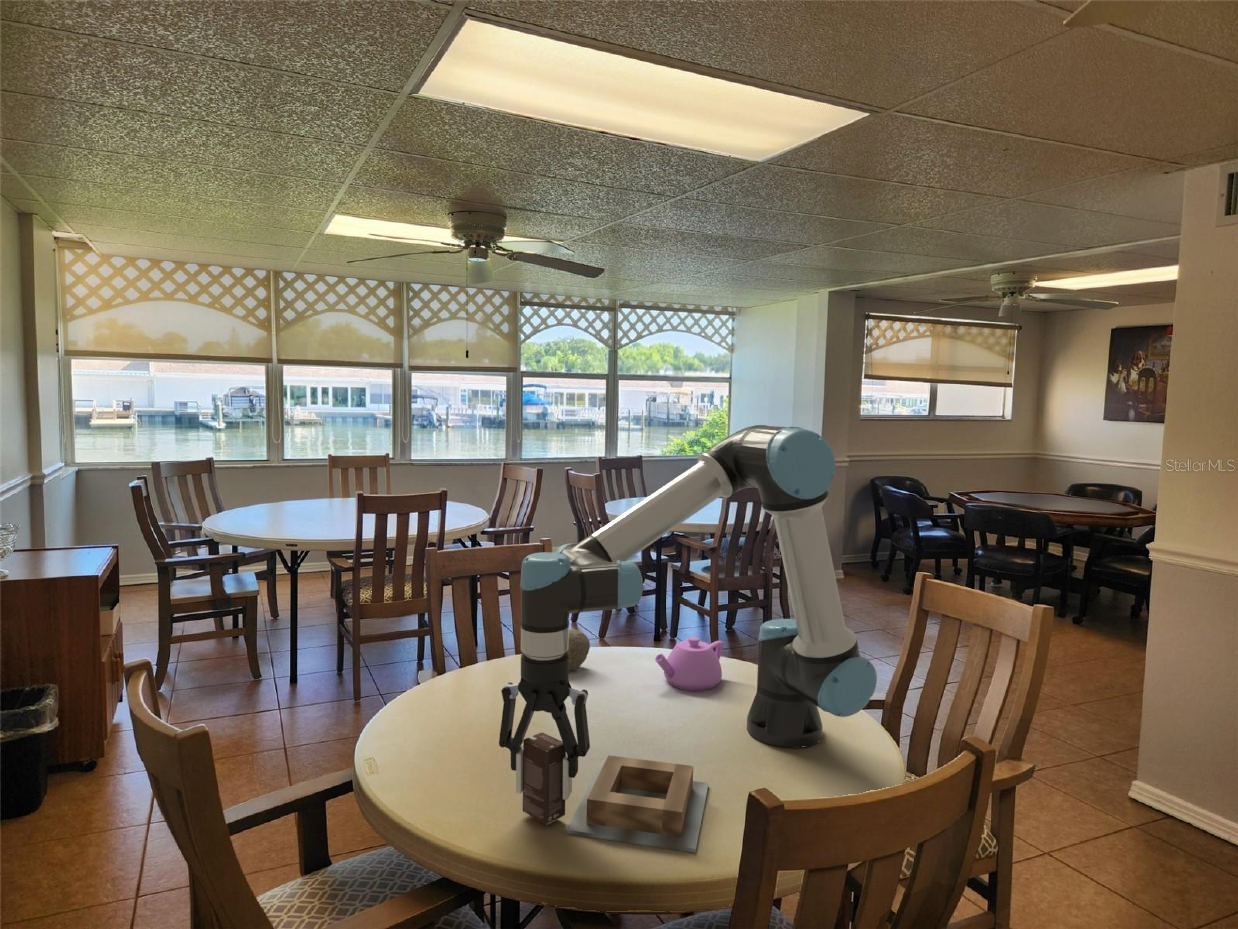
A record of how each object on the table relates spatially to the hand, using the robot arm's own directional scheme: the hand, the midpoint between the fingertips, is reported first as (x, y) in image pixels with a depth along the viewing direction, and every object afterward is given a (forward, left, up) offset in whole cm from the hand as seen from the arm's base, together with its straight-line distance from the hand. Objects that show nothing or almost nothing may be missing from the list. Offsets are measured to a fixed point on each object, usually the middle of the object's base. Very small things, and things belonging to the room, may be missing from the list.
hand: (544, 792), depth 120 cm
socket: (-15, -7, -4) cm, 17 cm away
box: (0, 0, -4) cm, 4 cm away
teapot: (-16, -65, -5) cm, 67 cm away
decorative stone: (+14, -65, -5) cm, 67 cm away
